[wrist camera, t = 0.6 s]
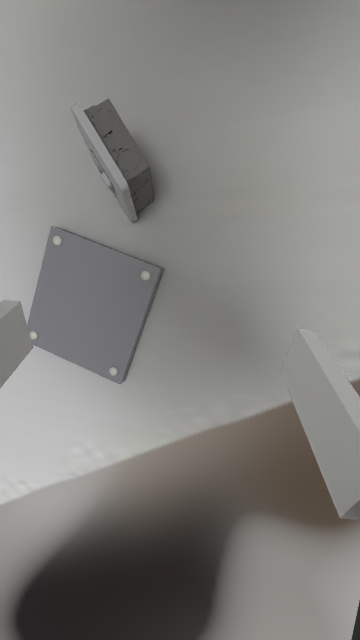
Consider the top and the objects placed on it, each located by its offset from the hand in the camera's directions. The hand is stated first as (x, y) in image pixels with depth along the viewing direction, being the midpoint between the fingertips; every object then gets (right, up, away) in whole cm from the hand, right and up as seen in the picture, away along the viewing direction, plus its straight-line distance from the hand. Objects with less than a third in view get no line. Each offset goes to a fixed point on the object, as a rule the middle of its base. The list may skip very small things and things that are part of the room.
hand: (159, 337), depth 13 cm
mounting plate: (-11, +3, +24) cm, 27 cm away
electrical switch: (-5, +19, +21) cm, 28 cm away
